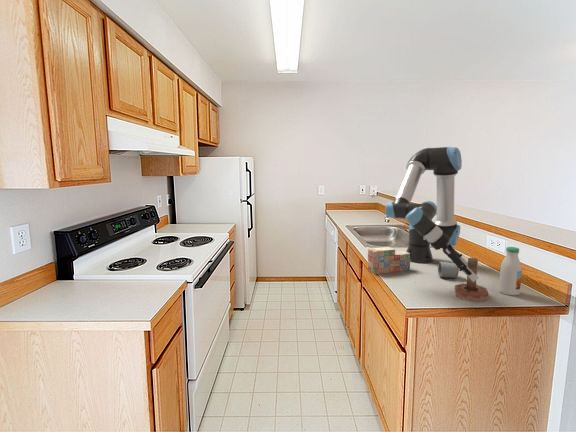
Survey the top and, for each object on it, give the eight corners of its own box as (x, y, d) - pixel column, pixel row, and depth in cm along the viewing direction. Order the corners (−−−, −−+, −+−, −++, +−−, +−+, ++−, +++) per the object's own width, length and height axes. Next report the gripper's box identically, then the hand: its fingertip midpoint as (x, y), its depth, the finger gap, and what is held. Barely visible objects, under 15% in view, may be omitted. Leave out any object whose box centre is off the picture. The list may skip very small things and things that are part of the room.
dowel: (465, 293, 148) (467, 257, 146) (474, 294, 147) (477, 258, 145) (466, 296, 145) (468, 259, 143) (476, 297, 144) (478, 260, 141)
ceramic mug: (458, 280, 165) (459, 264, 164) (440, 279, 166) (441, 264, 165) (452, 273, 175) (453, 258, 174) (435, 272, 176) (436, 258, 175)
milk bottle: (510, 297, 143) (514, 250, 140) (494, 290, 151) (497, 246, 148) (524, 294, 146) (528, 249, 142) (508, 288, 153) (511, 245, 150)
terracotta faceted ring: (453, 288, 154) (453, 282, 153) (483, 291, 150) (484, 285, 149) (456, 298, 143) (457, 292, 142) (489, 302, 139) (490, 295, 138)
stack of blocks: (403, 267, 187) (404, 245, 185) (410, 270, 181) (411, 248, 179) (367, 270, 182) (367, 248, 180) (373, 274, 176) (373, 251, 174)
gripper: (427, 237, 160) (461, 271, 157) (431, 250, 137) (470, 290, 134) (440, 226, 157) (475, 260, 155) (446, 238, 134) (487, 278, 132)
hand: (473, 274), depth 145 cm, fingers open, 13 cm apart
